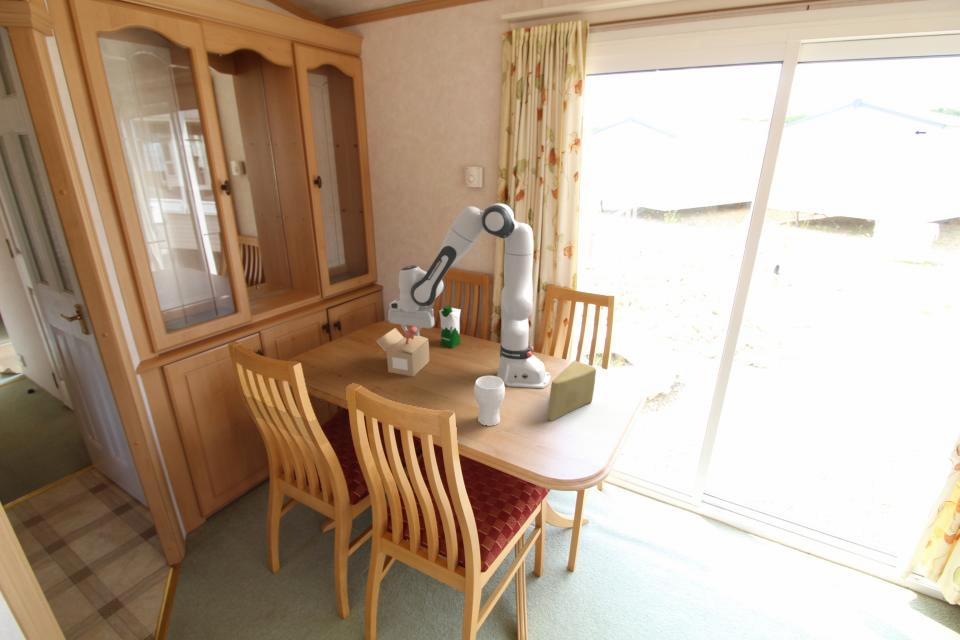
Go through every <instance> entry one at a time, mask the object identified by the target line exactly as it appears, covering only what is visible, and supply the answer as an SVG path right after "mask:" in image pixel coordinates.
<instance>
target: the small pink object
mask: <svg viewBox="0 0 960 640" xmlns="http://www.w3.org/2000/svg"><path fill="white" fill-rule="evenodd" d="M407 330H408V331H407V332H405V333H403V334H404V336H403V337H405V338H406V343H405V344H404V345H403V346H401V347H400V350H403V351H405V352H408V353H410V354H413V353H414V352H415V351H417V350H418V349H419V348H420V347H421V346H422V345H424V344H425V343H426V342H427V341H429V338H427V337H424V336H422V335H420V334H419V336H415V332H416V331H417V330H418V329H417V327H415V326H411V327H410V328H409V329H407ZM409 338H412V339H410V340H409V341H408V339H409Z"/></svg>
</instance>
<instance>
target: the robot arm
mask: <svg viewBox="0 0 960 640" xmlns="http://www.w3.org/2000/svg"><path fill="white" fill-rule="evenodd" d="M485 231H486V232H487V233H488V234H490V235H492V236H495V237H498V238H500V239H504V257H503V258H504V259H503V278H504V279H503V281H504V282H503V285H504V286H503V288H502V290H501V293H500V294H501V295H500V313H501V314H500V317H501V342H500V343H501V344H500V347H499V357H500V360H499V366H498V369H497V373H496V377H499V378H501V379H502V380H503V382H504V386H505V387H516V388H531V389H545V388H546V387H547V386H548V385H549V384H550V383H551V379H552V378H551V373H550V372H548V371H546V367H545V364H544V362H543V361H542V360H541V359H539V358H538V357H537V356H536V355H534V354H533V353H534V346H531V345H529V336H530V335H529V334H530V325H529V318H530V317H531V315H532V313H533V310H534V286H533V284H534V283H533V267H534V266H533V265H534V251H535V250H534V248H535V246H534V245H535V244H534V243H535V242H534V233H533V229H532V227H531V226H530V225H529V224H527V223H525V222H518V221H517V220H516V215H515V212H514V209H513V207H512V206H511V205H509V204H507V203H505V202H497V203H493V204H491V205H490V206H488V207H487V208H485V209H484V210H482V209H480V208H479V207H476V206H473V205H472V206H471V205H469V206H467V207H465V208H464V209H463V210H462V211H461V212H460V213H459V214H458V215H457V217H456V218H455V220H454V221H453V223H452V224H451V226H450V228H449V229H448V231H447V233H446V235H445V237H444V239H443V243H442V244H441V246H440V250H438V253H437V256H436V258H435V259H434V261H433V262H432V264H431V265H430V267H429V268H428V270H427V271H425V270H423V269H421V268H420V266H418V265H415V264H414V265H407V266H405V267H402V268H401V269H400V271H399V274H398V289H399V292H400V293H399V298H397V299H395V300H392V301H391V302H390V303H388V306H389V308H388V312H387V314H388V317H387V319H388V322H389V323H390V324H395V325H400V326H401V329H402V330H403V332H404V333H405V332H407V331H408V330H409V329H408V328H407V327H408V326H410V327H413V326H415V327H417V329H418V330H417V331H416V332H415V334H414V336H419V335H420V331H421V330H422V328H423V329H433V328H434V326H435V317H434V314H435V311H434V308H432V307H431V305H432V304H433V303H434V302H435V300H436V299H437V298H438V296H439V295H441V293H443V290H444V286H445V284H444V281H443V279H444V277H445V276H446V274H447V273H448V271H449V270H450V268H451V267H452V266H453V265H454V264H455V263H457V262H458V261H459V260H460V259H462V258H463V257H464V256H465V255H466V254H467V253H468V252H469V251H470V250H471V249H472V247H473V246H474V245H475V243H476V242H477V240H478V239H479V237H480V235H481V234H482V233H484V232H485ZM404 333H403V334H404Z"/></svg>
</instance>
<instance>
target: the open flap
mask: <svg viewBox="0 0 960 640" xmlns="http://www.w3.org/2000/svg"><path fill="white" fill-rule="evenodd" d="M404 337H405V336H403V334H402V333H400V331H399V330H398V329H397V328H396V327H394V328H393V329H391V330H390V331H388V332H387V333H386V334H384V335H383V336H381V337H379V338H378V339H377V340H376V341H375V342H376V343H377V344H378V345H379V347H381V348H382V350H383V351H384V352H385V353H387V350H389V349H390V348H391V347H393V346H394V345H395V344H396V343H398V342H399V341H400V340H402V339H403V338H404Z"/></svg>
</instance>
